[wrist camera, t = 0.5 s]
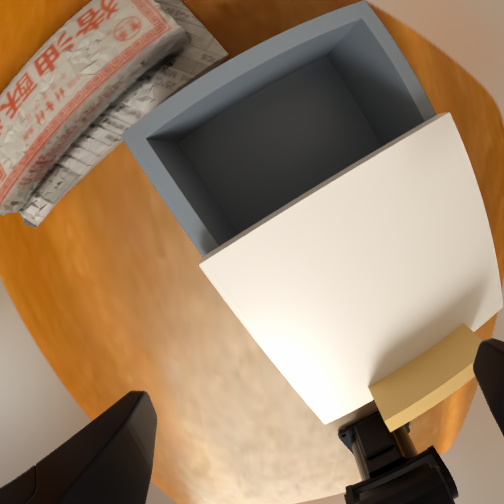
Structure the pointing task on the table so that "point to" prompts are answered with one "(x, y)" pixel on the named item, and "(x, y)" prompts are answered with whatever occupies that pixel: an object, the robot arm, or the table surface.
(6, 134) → the packaged product
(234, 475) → the table surface
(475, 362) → the robot arm
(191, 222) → the storage box
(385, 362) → the lid
